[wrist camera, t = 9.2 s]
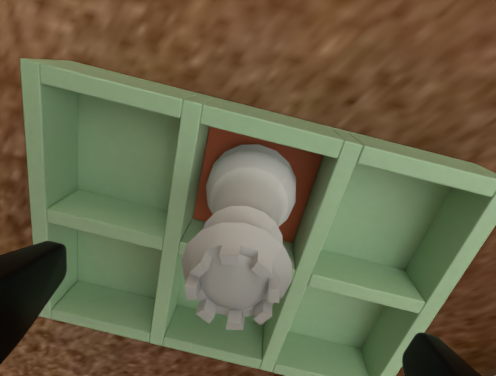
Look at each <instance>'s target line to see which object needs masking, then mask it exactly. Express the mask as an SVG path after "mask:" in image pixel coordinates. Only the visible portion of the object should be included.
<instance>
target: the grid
mask: <svg viewBox="0 0 496 376" xmlns="http://www.w3.org/2000/svg"><path fill="white" fill-rule="evenodd" d="M20 70H21V84H22V98H23V112H24V126H25V140H26V154H27V168H28V182H29V196H30V210H31V224H32V238H33V245H34V244H38V243H41V242H44V241H53V242H57V243H61V244H64V245H65V246H66V250H67V272H66V276H65V278H64V280H63V281H62V283H61V284H60V286H59V287H58V289H57V290H56V291H55V293H54V294H53V296H52V297H51V299H50V300H49V301H48V303H47V304H46V306H45V307H44V309H43V310H42V311H41V313H40V314H39V316H40V317H45V318H49V319H51V318H52V319H53V320H58V321H62V322H66V323H70V324H74V325H78V326H82V327H87V328H91V329H95V330H99V331H103V332H107V333H112V334H116V335H120V336H124V337H128V338H132V339H136V340H141V341H145V342H149V343H152V344H156V345H160V346H162V345H163V346H165V347H169V348H173V349H177V350H181V351H185V352H190V353H194V354H198V355H202V356H206V357H210V358H215V359H219V360H223V361H227V362H231V363H235V364H239V365H244V366H248V367H252V368H256V369H261V370H265V371H269V372H273V373H277V374H281V375H285V376H396V374H397V373H398V371H399V370H400V368H401V367H402V365H403V364H402V357H403V353H404V351H405V350H406V348H407V347H408V345H409V344H410V342H411V341H412V339H413V338H414V336H415V335H416V334H417V333H420V332H421V333H424V332H425V331H426V329H427V328H428V326H429V325H430V323H431V322H432V320H433V319H434V317H435V316H436V314H437V313H438V311H439V310H440V308H441V307H442V305H443V304H444V302H445V301H446V299H447V297H448V296H449V294H450V293H451V291H452V290H453V288H454V287H455V285H456V284H457V282H458V281H459V279H460V278H461V276H462V275H463V273H464V272H465V270H466V269H467V267H468V266H469V264H470V263H471V261H472V260H473V258H474V257H475V255H476V254H477V252H478V251H479V249H480V248H481V246H482V245H483V243H484V242H485V240H486V239H487V237H488V236H489V234H490V233H491V231H492V230H493V228H494V227H495V225H496V173H494V172H492V171H490V170H488V169H485V168H483V167H481V166H479V165H477V164H475V163H471V162H467V161H463V160H459V159H455V158H451V157H447V156H443V155H439V154H436V153H432V152H428V151H424V150H420V149H416V148H412V147H408V146H404V145H400V144H396V143H392V142H388V141H384V140H380V139H377V138H373V137H369V136H365V135H361V134H357V133H353V132H349V131H345V130H341V129H337V128H333V127H329V126H325V125H321V124H317V123H314V122H310V121H306V120H302V119H298V118H294V117H290V116H286V115H282V114H278V113H274V112H270V111H266V110H262V109H258V108H255V107H251V106H247V105H243V104H239V103H235V102H231V101H227V100H223V99H219V98H215V97H211V96H207V95H203V94H199V93H196V92H192V91H188V90H184V89H180V88H176V87H172V86H168V85H164V84H160V83H156V82H152V81H148V80H144V79H140V78H136V77H133V76H129V75H125V74H121V73H117V72H113V71H109V70H105V69H101V68H97V67H93V66H89V65H85V64H81V63H77V62H74V61H70V60H49V59H28V58H21V59H20ZM253 144H260V145H262V146H265V147H267V148H270V149H273V150H275V151H277V152H278V153H279V154H280V155H281V156H282V157H283V158H284V159H286V160H287V161H288V162H289V163H290V166H291V168H292V170H293V173H294V175H295V178H296V202H295V204H294V206H293V209H292V211H291V213H290V215H289V217H288V219H287V220H286V221H285V222H284V223H283V224H281V225H280V226H279V227H278V228H279V230H280V232H281V234H282V236H283V245H284V247H285V249H286V251H287V254H288V256H289V258H290V260H291V262H292V281H291V283H290V285H289V287H288V289H287V290H286V292H285V294H284V296H283V297H282V298H281V299H279V303H274V304H273V305H272V317H271V318H270V319H268V320H267V321H265V322H264V323H263V324H261V325H260V326H259V324H258V323H257V322H256V321H255V320H254V315H251V316H247V317H245V321H244V330H226V326H227V320H228V316H225V315H222V314H219V313H216V312H215V316H214V318H213V320H212V321H211V322H210V323H207V322H206V321H205V320H203V319H202V318H200V317H199V316H198V315H196V311H197V308H198V305H199V300H198V299H196V300H189V301H187V298H186V292H185V284H186V281H185V279H184V275H183V269H182V262H181V260H182V257H183V254H184V251H185V249H186V246H187V243H188V242H190V241H191V240H192V239H193V238H194V237H195V236H196V235H197V234H198V233H199V232H200V231H201V230H203V228H204V225H205V222H206V221H207V220H208V219H209V218H210V217H211V216H212V215H213V214H212V212H211V211H210V209H209V207H208V204H207V194H206V184H207V181H208V178H209V175H210V172H211V170H212V167H213V164H214V163H215V162H216V161H217V160H218V159H219V158H220V156H221V155H222V154H223V153H224V152H226V151H228V150H230V149H232V148H235V147H237V146H239V145H253Z"/></svg>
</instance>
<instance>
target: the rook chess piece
mask: <svg viewBox="0 0 496 376" xmlns="http://www.w3.org/2000/svg"><path fill="white" fill-rule="evenodd" d="M206 194H207V204H208V207H209V209H210V211H211V212H212V214H213V215H212V216H211V217H210V218H209V219H208V220H207V221H206V222H205V225H204V228H203V230H201V231H200V232H199V233H198V234H197V235H196V236H195V237H194V238H193V239H192V240H191V241H190V242H188V243H187V246H186V249H185V251H184V254H183V257H182V260H181V262H182V269H183V275H184V279H185V281H186V284H185V292H186V298H187V301H189V300H196V299H198V300H199V305H198V308H197V311H196V315H198V316H199V317H200V318H202V319H203V320H205V321H206V322H207V323H210V322H211V321H212V320H213V318H214V316H215V312H216V313H219V314H222V315H225V316H228V320H227V326H226V330H244V321H245V317H247V316H251V315H254V320H255V321H256V322H257V323H258V324H259V326H260V325H261V324H263V323H264V322H265V321H267V320H268V319H270V318H271V317H272V305H273V304H274V303H279V299H281V298H282V297H283V296H284V294H285V292H286V290H287V289H288V287H289V285H290V283H291V281H292V262H291V260H290V258H289V256H288V254H287V251H286V249H285V247H284V245H283V236H282V234H281V232H280V230H279V228H278V227H279V226H280V225H281V224H283V223H284V222H285V221H286V220H287V219H288V217H289V215H290V213H291V211H292V209H293V206H294V204H295V202H296V178H295V175H294V173H293V170H292V168H291V166H290V163H289V162H288V161H287V160H286V159H284V158H283V157H282V156H281V155H280V154H279V153H278V152H277V151H275V150H273V149H270V148H267V147H265V146H262V145H260V144H253V145H239V146H237V147H235V148H232V149H230V150H228V151H226V152H224V153H223V154H222V155H221V156H220V158H219V159H218V160H217V161H216V162H215V163H214V164H213V167H212V170H211V172H210V175H209V178H208V181H207V184H206Z"/></svg>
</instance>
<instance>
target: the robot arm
mask: <svg viewBox="0 0 496 376" xmlns="http://www.w3.org/2000/svg"><path fill="white" fill-rule="evenodd" d="M66 272H67V250H66V246H65V245H64V244H61V243H57V242H53V241H44V242H41V243H38V244H34V245H31V246H28V247H25V248H22V249H18V250H15V251H12V252H9V253H6V254H3V255H0V364H1V363H2V362H3V361H4V360H5V358H6V357H7V356H8V355H9V354H10V352H11V351H12V350H13V349H14V348H15V346H16V345H17V344H18V343H19V342H20V340H21V339H22V338H23V337H24V335H25V334H26V332H27V331H28V330H29V328H30V327H31V326H32V324H33V323H34V321H35V320H36V318H37V317H38V316H39V314H40V313H41V311H42V310H43V309H44V307H45V306H46V304H47V303H48V301H49V300H50V299H51V297H52V296H53V294H54V293H55V291H56V290H57V289H58V287H59V286H60V284H61V283H62V281H63V280H64V278H65V276H66ZM402 364H403V369H404V374H405V376H481V375H480V374H479V373H478V372H476V371H475V370H474V369H473V368H472V367H471V366H470V365H469V364H467V363H466V362H465V361H464V360H463V359H462V358H461V357H459V356H458V355H457V354H456V353H455V352H454V351H453V350H452V349H450V348H449V347H448V346H447V345H446V344H445V343H444V342H443V341H441V340H440V339H439V338H438V337H436V336H434V335H430V334H426V333H421V332H420V333H417V334H416V335H415V336H414V338H413V339H412V341H411V342H410V344H409V345H408V347H407V348H406V350H405V351H404V353H403V357H402Z"/></svg>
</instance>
